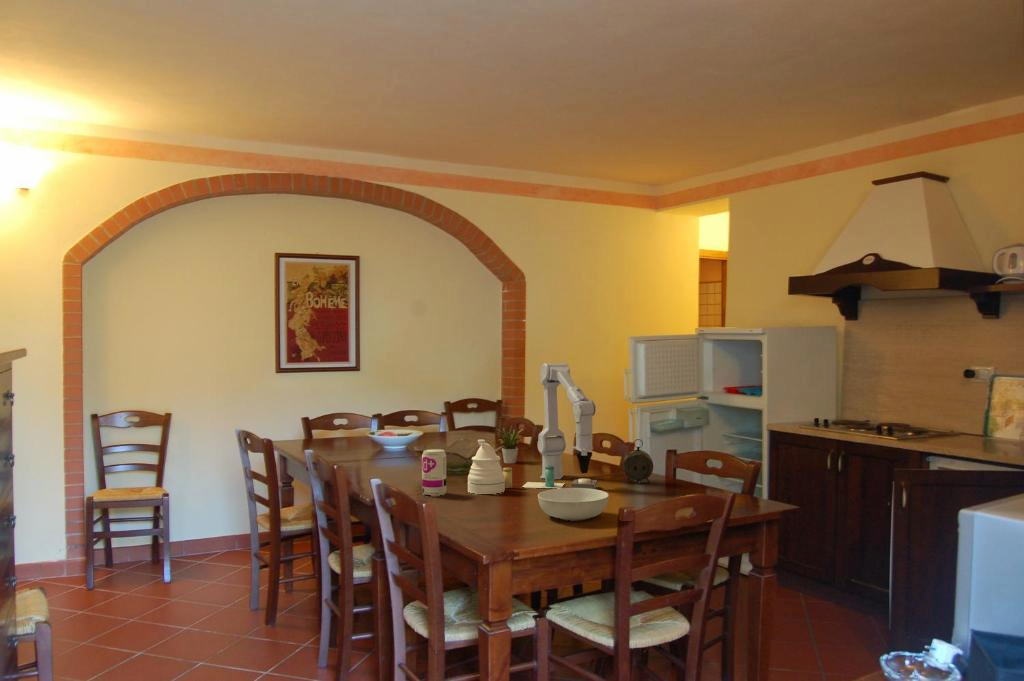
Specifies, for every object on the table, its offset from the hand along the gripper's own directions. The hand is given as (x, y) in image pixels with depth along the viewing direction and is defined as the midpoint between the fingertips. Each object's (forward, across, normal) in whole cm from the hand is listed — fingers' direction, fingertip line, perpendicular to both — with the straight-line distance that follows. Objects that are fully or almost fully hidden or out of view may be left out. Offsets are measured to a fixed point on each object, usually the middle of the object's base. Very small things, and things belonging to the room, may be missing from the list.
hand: (584, 473), depth 264 cm
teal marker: (+5, -2, -12) cm, 13 cm away
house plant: (+6, -56, -33) cm, 66 cm away
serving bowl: (+6, +44, -3) cm, 44 cm away
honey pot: (+6, +7, -34) cm, 35 cm away
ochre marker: (+6, +1, -27) cm, 28 cm away
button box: (+6, 0, 0) cm, 6 cm away
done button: (+5, 0, 0) cm, 5 cm away
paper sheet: (+6, -4, -15) cm, 16 cm away
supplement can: (+6, +14, -51) cm, 53 cm away
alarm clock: (+6, -12, +20) cm, 23 cm away
